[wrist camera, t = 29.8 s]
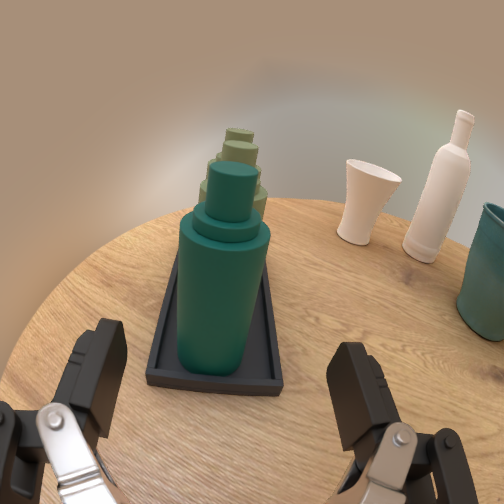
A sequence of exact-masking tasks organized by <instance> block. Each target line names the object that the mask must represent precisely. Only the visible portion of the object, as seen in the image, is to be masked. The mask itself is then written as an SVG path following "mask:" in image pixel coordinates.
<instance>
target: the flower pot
mask: <svg viewBox="0 0 504 504" xmlns="http://www.w3.org/2000/svg"><path fill="white" fill-rule="evenodd" d="M483 208H484V209H483V212H482V215H481V218H480V221H479V226H478V228H477V231H476V234H475V237H474V239H473V242H472V245H471V248H470V251H469V255H468V259H467V263H466V268H465V274H464V280H463V284H462V288H461V292H460V294H459V296H458V297H457V308H458V311H459V313H460V315H461V317H462V318H463V319H464V321H465V322H466V323H467V324H468V325H469V326H470V327H471V328H472V329H473V330H474V331H475V332H477V333H478V334H479V335H481V336H482V337H484V338H486V339H489V340H492V341H501V340H503V339H504V209H503V208H502V207H500V206H497V205H495V204H492V203H489V202H485V203H484V205H483Z"/></svg>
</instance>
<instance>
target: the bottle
mask: <svg viewBox="0 0 504 504" xmlns="http://www.w3.org/2000/svg"><path fill="white" fill-rule="evenodd" d="M474 120H475V117H474V116H473V115H472V114H470V113H468V112H466V111H463V110H458V112H457V114H456V120H455V124H454V128H453V131H452V135H451V139H450V142H449V143H448V144H446V145H444V146H442V147H440V149H439V150H438V151H437V153H436V154H435V156H434V160H433V162H432V166H431V169H430V172H429V175H428V179H427V181H426V184H425V187H424V190H423V193H422V195H421V198H420V201H419V204H418V206H417V209H416V212H415V214H414V217H413V220H412V222H411V224H410V227H409V229H408V231H407V233H406V235H405V239H404V242H403V244H402V247H403V249H404V250H405V252H406V253H407V254H409V255H410V256H411V257H413V258H415V259H416V260H418V261H421V262H424V263H433V262H434V261H435V258H436V256H437V255H438V253H439V251H440V249H441V246H442V244H443V241H444V239H445V237H446V235H447V232H448V230H449V228H450V225H451V223H452V221H453V218H454V216H455V213H456V211H457V208H458V206H459V203H460V200H461V198H462V195H463V192H464V190H465V186H466V184H467V181H468V178H469V175H470V169H471V165H470V164H471V162H470V159H469V156H468V154H467V152H466V150H467V146H468V143H469V139H470V135H471V131H472V127H473V126H474Z"/></svg>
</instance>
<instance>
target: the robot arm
mask: <svg viewBox="0 0 504 504" xmlns="http://www.w3.org/2000/svg"><path fill="white" fill-rule="evenodd" d="M126 362H127V344H126V339H125V334H124V328H123V323H122V321H117V320H112V319H106V318H101V319H100V321H99V323H98V325H97V328H96V330H95V331H91V330H86V331H85V332H84V333H83V334H82V335H81V336H80V337H79V338H78V339H77V341H76V343H75V346H74V348H73V350H72V353H71V355H70V357H69V360H68V363H67V365H66V367H65V370H64V372H63V375H62V377H61V380H60V382H59V385H58V388H57V390H56V393H55V396H54V398H53V400H52V401H51V402H50V403H49V404H46V405H45V406H43V407H42V408H41V409H40V410H34V411H28V410H13V409H12V408H11V407H10V406H9V404H7V403H6V402H3V401H0V504H39V501H40V493H41V485H42V479H43V473H44V467H45V463H50V464H51V467H52V469H53V471H54V474H55V476H56V478H57V481H58V486H57V490H58V494H59V496H60V498H61V501H62V502H63V504H131V503H130V501H129V500H128V498H127V497H126V496H125V494H124V493H123V492H122V490H121V489H120V488H119V486H118V484H117V483H116V481H115V479H114V478H113V476H112V474H111V473H110V471H109V469H108V467H107V465H106V464H105V462H104V460H103V458H102V456H101V454H100V452H99V451H98V449H97V442H98V438H99V437H103V438H107V439H108V435H109V430H110V426H111V421H112V417H113V413H114V408H115V404H116V400H117V396H118V392H119V388H120V384H121V381H122V377H123V373H124V369H125V366H126ZM384 377H385V376H384V374H383V371H382V369H381V366H380V364H379V363H378V362H377V361H376V360H375V359H374V357H373V356H372V355H367V353H366V350H365V347H364V345H363V344H362V343H361V342H342V343H341V344H340V345H339V347H338V349H337V351H336V353H335V355H334V356H333V358H332V360H331V362H330V363H329V365H328V368H327V373H326V378H327V383H328V387H329V391H330V396H331V400H332V404H333V408H334V412H335V417H336V421H337V425H338V430H339V434H340V438H341V443H342V447H343V451H350V450H354V454H355V455H354V457H353V458H352V459H351V461H350V463H349V465H348V467H347V469H346V471H345V473H344V475H343V476H342V478H341V480H340V482H339V484H338V485H337V487H336V489H335V490H334V492H333V494H332V495H331V496H330V498H329V499H328V500H327V501H326V502H325V503H324V504H478V499H477V495H476V491H475V487H474V483H473V479H472V476H471V472H470V469H469V465H468V462H467V459H466V455H465V452H464V449H463V446H462V443H461V440H460V437H459V436H458V434H457V433H456V432H455V431H454V430H452V429H449V428H443V429H441V430H440V431H438V432H437V433H436V434H435V435H432V434H423V433H416V432H415V431H414V429H413V428H412V427H411V426H409V425H408V424H406V423H403V422H402V421H401V419H400V417H399V414H398V411H397V409H396V406H395V403H394V400H393V397H392V395H391V392H390V389H389V388H388V384H387V382H386V379H384ZM431 472H433V476H434V480H435V484H436V489H437V493H438V498H437V500H436V497H435V492H434V488H433V483H432V479H431V475H430V473H431Z"/></svg>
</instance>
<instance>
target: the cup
mask: <svg viewBox="0 0 504 504" xmlns="http://www.w3.org/2000/svg"><path fill="white" fill-rule="evenodd" d="M346 167H347V196H346V204H345V209H344V213H343V217H342V220H341V223H340V225H339V227H338V230H337V233H338V235H339V236H340V237H341V238H343V239H344V240H346V241H348V242H350V243H353V244H357V245H366V244H368V243H369V239H370V236H371V232H372V229H373V227H374V224H375V222H376V220H377V218H378V216H379V214H380V212H381V210H382V209H383V207H384V205H385V204H386V203H387V201H388V200H389V199H390V197H391V195H392V194H393V193H394V191H395V190H396V189H397V187H398V186H399V185H400V183H401V182H402V179H401V178H400V177H399V176H397V175H396V174H394V173H392V172H390V171H388V170H386V169H384V168H381V167H379V166H376V165H373V164H370V163H367V162H363V161H359V160H352V159H349V160H347V161H346Z"/></svg>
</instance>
